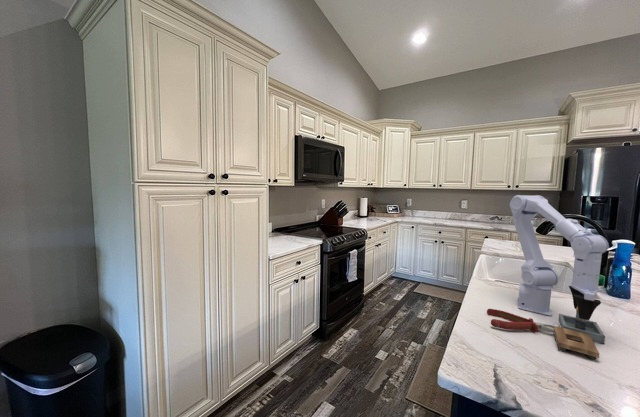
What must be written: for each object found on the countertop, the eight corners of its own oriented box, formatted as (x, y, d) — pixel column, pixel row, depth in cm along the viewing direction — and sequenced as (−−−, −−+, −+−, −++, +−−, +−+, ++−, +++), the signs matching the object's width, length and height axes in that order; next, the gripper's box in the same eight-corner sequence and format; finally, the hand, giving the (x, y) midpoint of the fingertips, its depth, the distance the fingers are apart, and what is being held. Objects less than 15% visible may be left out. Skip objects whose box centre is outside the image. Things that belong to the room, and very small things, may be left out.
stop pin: (575, 330, 82) (577, 306, 82) (573, 326, 84) (575, 303, 84) (586, 333, 81) (589, 308, 80) (584, 329, 83) (586, 305, 82)
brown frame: (557, 350, 73) (558, 342, 73) (552, 333, 82) (553, 325, 81) (598, 362, 68) (599, 353, 68) (588, 342, 77) (589, 334, 77)
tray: (562, 333, 81) (563, 326, 81) (558, 320, 89) (559, 313, 89) (604, 344, 76) (605, 336, 76) (595, 329, 84) (596, 322, 84)
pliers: (572, 344, 75) (573, 336, 75) (490, 327, 84) (491, 319, 84) (557, 327, 85) (558, 319, 85) (486, 313, 94) (486, 306, 94)
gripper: (611, 282, 73) (606, 328, 74) (598, 269, 84) (593, 309, 86) (577, 277, 77) (572, 320, 78) (568, 265, 88) (564, 303, 90)
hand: (581, 314), depth 82 cm, fingers open, 7 cm apart
